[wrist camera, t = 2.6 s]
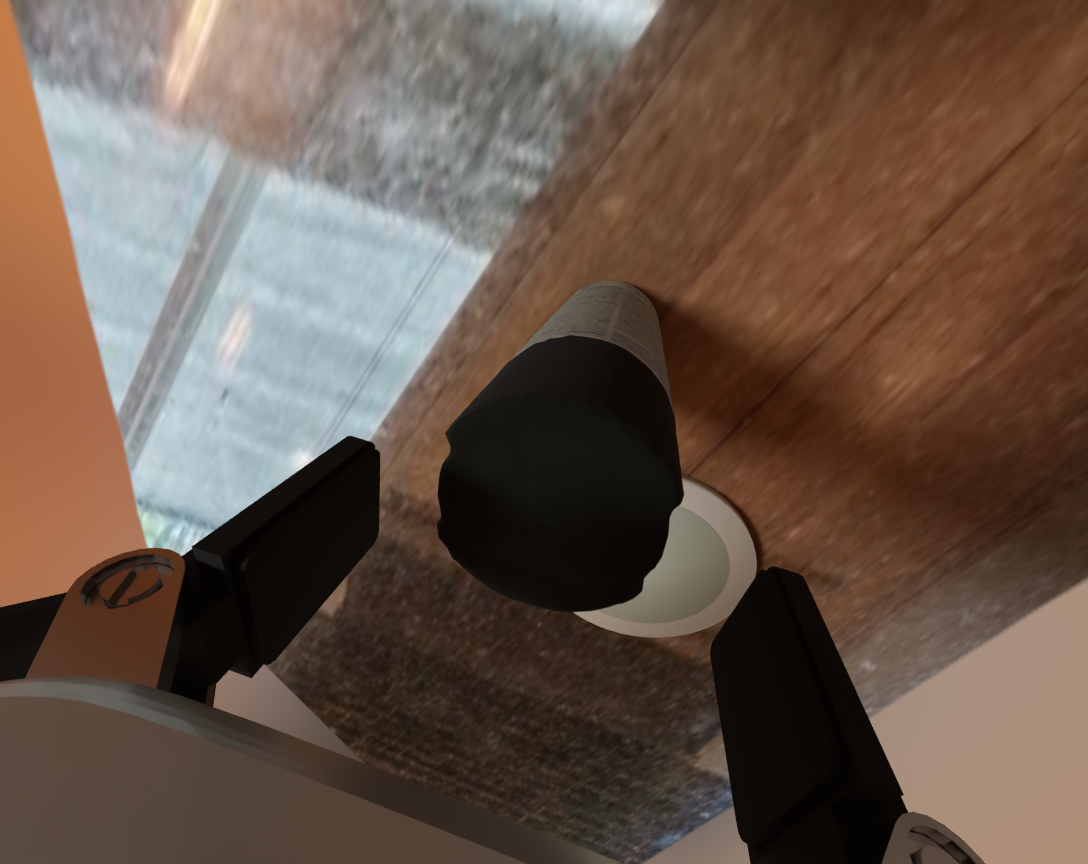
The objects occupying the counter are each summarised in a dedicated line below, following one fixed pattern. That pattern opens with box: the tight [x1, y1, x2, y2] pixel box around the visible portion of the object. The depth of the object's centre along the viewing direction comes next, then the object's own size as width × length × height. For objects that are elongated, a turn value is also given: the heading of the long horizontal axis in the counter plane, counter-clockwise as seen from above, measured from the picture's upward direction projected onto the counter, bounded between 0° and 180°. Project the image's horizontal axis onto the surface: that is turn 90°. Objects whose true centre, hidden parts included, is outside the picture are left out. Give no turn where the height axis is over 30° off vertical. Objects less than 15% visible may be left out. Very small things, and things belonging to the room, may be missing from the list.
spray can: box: [437, 281, 684, 612], centre depth 18 cm, size 7×7×20 cm
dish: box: [574, 474, 757, 637], centre depth 35 cm, size 18×18×1 cm
